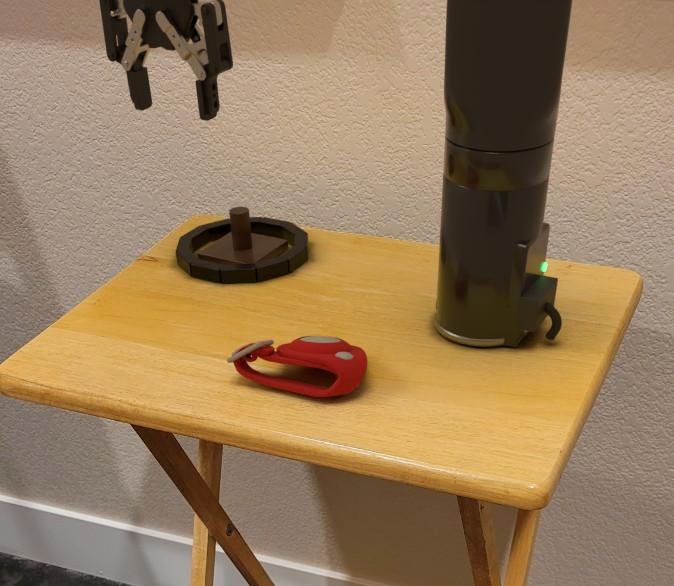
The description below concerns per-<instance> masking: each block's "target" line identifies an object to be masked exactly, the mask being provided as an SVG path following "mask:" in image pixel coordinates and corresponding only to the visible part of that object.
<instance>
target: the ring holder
mask: <svg viewBox="0 0 674 586" xmlns="http://www.w3.org/2000/svg"><path fill="white" fill-rule="evenodd" d="M228 214H229V215H228V216H229V218H230V224H231V232H230V233H228V234H226V235H225V236H223V237H222V238H220V239H216V240H214V242H212V243H211V244H209V245H207V246H206V247H204V248H202V249H201V250H200V251H198V252H197V253H196V256H197V257H198V258H199V259H200V260H205V261H210V262H214V263H219V264H223V265H227V264H254V263H257V262H261V261H265V260H269V259H272V258H276V257H279V256H281V255H282V254H284V253H285V252H286V251H288V250H289V242H288V240H284V239H283V238H278V237H273V236H268V235H263V234H254V233H251V225H250V217H251V216H250V209H249V207H246V206H235V207H232V208H230V209H229V210H228Z"/></svg>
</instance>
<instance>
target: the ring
mask: <svg viewBox="0 0 674 586" xmlns="http://www.w3.org/2000/svg"><path fill="white" fill-rule="evenodd" d="M250 225H251V233H254V234H259V235H264V236H269V237H274V238H279V239H284V240H288V244H290V245H292V247H291V248H288V249H287V250H286V251H284V252H283V253H281V254H280V255H279V256H277V257H276V258H272V259H269V260H265V261H261V262H257V263H254V264H227V265H223V264H219V263H214V262H210V261H205V260H200V259H199V258H198V256H197V254H194V252H195V251H197V250H198V249H200V248H201V247H202V246H204V245H206V244H207V243H209V242H211V241H217V240H219V239H220V238H222V237H223V236H225V235H226V234H228V233H230V232H231V224H230V217H228V218H223V219H221V220H217V221H216V220H215V221H211V222H208V223H204V224H201V225H198V226H196V227H194V228H192V229H191V230H190V231H188V232H186V233H185V234H183V235H181V236H180V237H179V238H178V241H177V244H176V248H175V257H176V264H177V266H179V268H181V269H182V270H183V271H184V272H185V273H186V274H187V275H189V276H190V277H192V278H195V279H199V280H200V279H201V280H204V281H208V282H212V283H217V284H251V283H257V282H258V283H260V282H265V281H268V280H271V279H275V278H278V277H282V276H285V275H288V274H291V273H292V272H293V271H295V270H297V269H298V268H299V267H301V266H302V265H304V263H306V262H307V261H308V260H309V233H308V232H307V231H306V230H304V229H302V228H301V227H300V226H298V225H296V224H295V223H294V222H291V221H287V220H283V219H276V218H272V217H267V216H250Z"/></svg>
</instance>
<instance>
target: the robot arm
mask: <svg viewBox="0 0 674 586" xmlns="http://www.w3.org/2000/svg"><path fill="white" fill-rule="evenodd" d="M98 1H99V8H100V16H101V23H102V30H103V37H104V44H105V52H106V57H107V59H108V60H109V61H110V62H112V63H114V62H116V63H118V64H119V65H121V67H122V69H124V70H125V74H126V79H127V86H128V91H129V97H130V100H131V103H132V104H133V106H134V109H135V110H136V111H145V110H148V109H150V108H151V107H152V106H153V98H152V91H151V84H150V78H149V71H148V67H147V66H144V65H145V63H146V61H147V59H148V56H149V53H150V52H151V49H157V48H162V49H164V50H166V51H176V52H177V54H178V55H179V57H180V58H181V60H183V61H185V62H186V63H187V64H188V65H189V67H190V69H191V70H192V72H193V73H194V75H195V76H196V80H195V90H196V98H197V99H196V100H197V106H198V115H199V119H200V120H201V121H205V122H206V121H207V122H208V121H211V120H213V119H214V118H217V115H218V112H220V106H221V105H220V104H221V103H220V95H219V87H218V86H219V85H218V76H219V75H221V74H222V73H225V72H228V71H230V70H232V69H233V67H234V60H233V52H232V45H231V38H230V30H229V23H228V15H227V9H226V3H225V1H224V0H210V1H199V0H98ZM573 2H574V1H573V0H446V13H445V40H444V43H445V44H444V74H443V75H444V76H443V101H444V111H445V128H444V148H443V150H444V151H443V169H442V170H443V171H442V190H441V211H440V227H439V248H438V249H439V250H438V265H437V288H436V289H437V290H436V300H435V301H436V302H435V311H436V312H435V314H434V327H435V330H437V332H438V333H439V334H440V335H441V336H443V337H444V338H446V339H448V340H449V341H452V342H455V343H458V344H462V345H465V346H466V345H467V346H472V347H498V346H500V347H501V346H507V347H511V348H516V347H517V346H518V345H519V344H520V343H521V342H522V340H523V339H524V338H525V337H526V336H527V335H528V334H529V333H530V332H531V333H535V332H536V331H537V329H539V327H540V326H541V324H543V322H544V321H545V320H546V318H548V317H549V318H550V320H551V326H550V327H549V329H548V330H547V332H546V334H545V338H546V339H547V340H550V341H554V340H556V338H557V336H558V334H559V333H560V331H561V329H562V326H563V319H562V316H561V314H560V311H559V310H558V309H557V308H556V307H555V304H556V303H555V302H556V295H557V290H558V283H559V278H558V277H554V276H548V275H545V272H546V271H547V269H548V263H547V261H546V260H547V252H548V245H549V237H550V231H551V225H550V223H548V222H544V221H545V213H546V207H547V199H548V191H549V182H550V177H551V168H552V160H553V152H554V145H555V136H556V129H557V121H558V116H559V115H558V114H559V109H560V103H561V102H560V100H561V94H562V84H563V76H564V75H563V74H564V67H565V60H566V52H567V44H568V37H569V29H570V23H571V17H572V16H571V15H572V7H573ZM127 16H128V17H127ZM127 18H129V19H130V21H131V23H132V24H131V27H130V29H129V28H128V26H129V25H128V19H127ZM198 20H199V21H198ZM198 24H199V25H198ZM199 26H200V27H202V28H203V29H202V30H203V32H202V30H201V28H200V27H199ZM190 40H191V42H192V44H190V43H189V42H190Z"/></svg>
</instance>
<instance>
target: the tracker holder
mask: <svg viewBox="0 0 674 586" xmlns="http://www.w3.org/2000/svg"><path fill="white" fill-rule="evenodd" d="M274 343H275V341H274V339H272V338H271V339H265V340H260V341H257V342H251V343H246V344H244V345H241V346H240V347H238V348H237V349H235V350H234V351H233V352H232V353H231V356H229V357H228V358H226V362H227V363H228V364H231V363H233V366H234V368H235V370H236V371H237V373H238V374H239V375H241V376H242V377H244V378H246V379H248V380H250V381H253V382H254V383H258V384H260V385H263V386H267V387H270V388H274V389H279V390H283V391H288V392H293V393H297V394H301V395H305V396H309V397H315V398H327V397H328V398H329V397H338V396H345V395H347V394H350V393H352V392H354V390H355V389H356V388H358V387H359V385H360V383H361V382H362V380H363V378H364V376H365V374H366V372H367V368H368V355H367V353H366V351H365V350H364V349H363V348H362V347H360V346H357V345H353V344H350V343H349V342H348V341H346V340H344V339H342V338H339V337H335V336H326V335H306V336H301V337H297V338H296V339H293V340H292V341H290V342H288V343H287V342H286V343H281V344H280V345H278V346H277V347H276V349H275V347H274V346H273V345H274ZM258 358H259V359H261V360H262V361H263V360H264V361H265V362H269V363H274V364H282V365H290V366H297V367H306V368H315V369H321V370H324V371H327V372H330V373H331V374H334V375H335V376H337V378H336V380H335V382H334V383H333V384H332V385H331V386H330V387H327V386H322V385H317V384H311V383H307V382H302V381H297V380H293V379H288V378H284V377H279V376H273V375H269V374H266V373H263V372H261V371H258V370H256V369H254V368H253V367H252V366H251V365H249V363H253V362H255V361H257V360H258Z"/></svg>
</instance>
